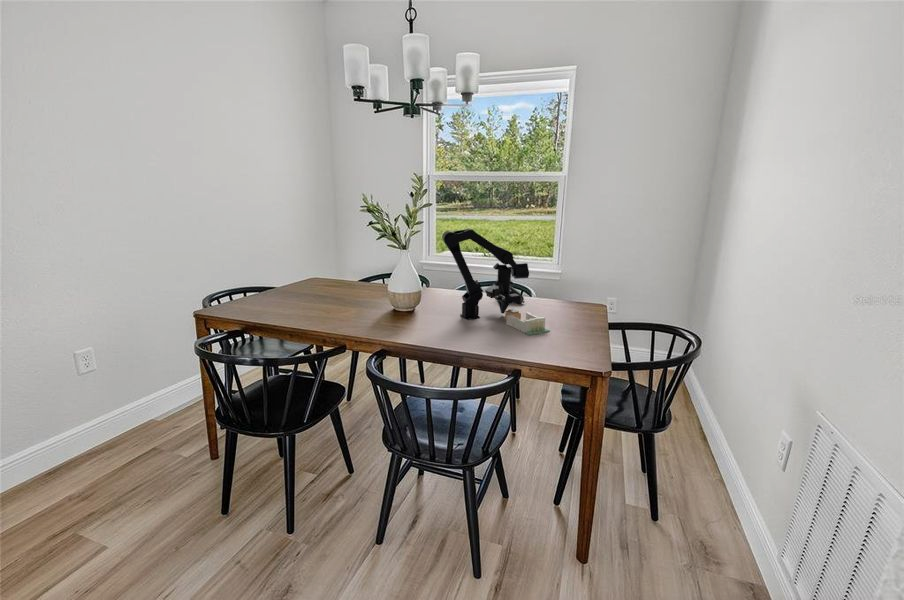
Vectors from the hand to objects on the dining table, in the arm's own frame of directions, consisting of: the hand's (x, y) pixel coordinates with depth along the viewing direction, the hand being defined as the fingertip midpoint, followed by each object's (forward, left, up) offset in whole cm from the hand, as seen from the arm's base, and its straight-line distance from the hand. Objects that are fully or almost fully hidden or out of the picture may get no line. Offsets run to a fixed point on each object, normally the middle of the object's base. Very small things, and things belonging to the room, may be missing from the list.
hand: (502, 313), depth 186 cm
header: (0, -18, -1) cm, 18 cm away
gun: (+16, +17, -1) cm, 23 cm away
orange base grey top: (0, -8, -1) cm, 8 cm away
